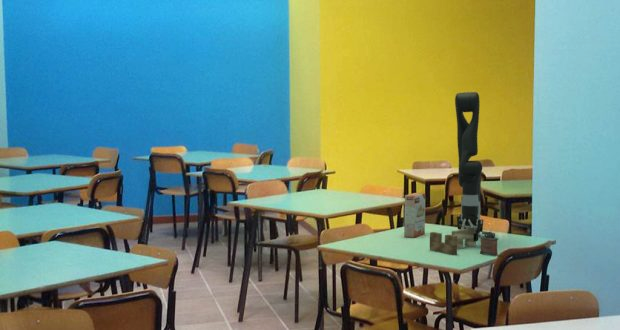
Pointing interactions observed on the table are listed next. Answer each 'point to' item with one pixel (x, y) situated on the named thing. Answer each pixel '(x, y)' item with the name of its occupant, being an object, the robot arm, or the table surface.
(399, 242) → the table surface
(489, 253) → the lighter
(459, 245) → the beech plate
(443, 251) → the notched brown block
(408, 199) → the cracker box
